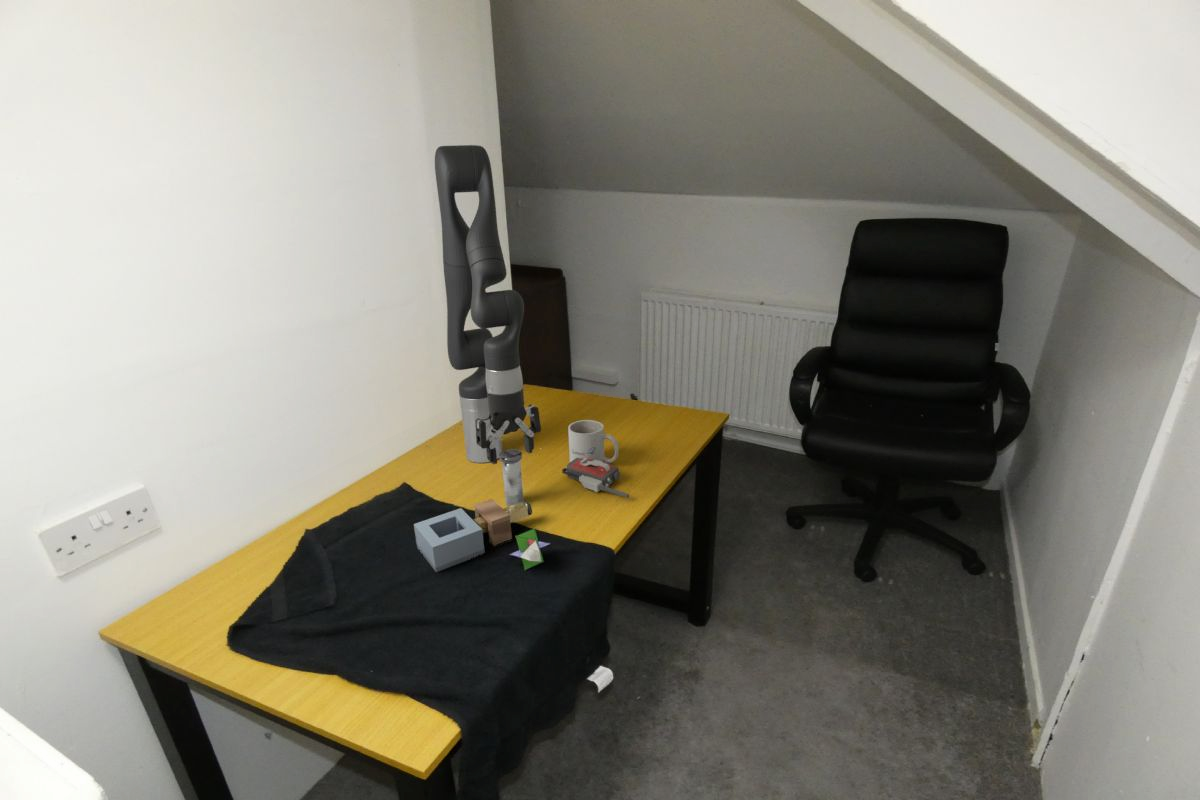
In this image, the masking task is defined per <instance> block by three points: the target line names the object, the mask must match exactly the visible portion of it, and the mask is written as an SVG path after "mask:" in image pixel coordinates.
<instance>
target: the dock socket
mask: <svg viewBox="0 0 1200 800" xmlns="http://www.w3.org/2000/svg"><path fill="white" fill-rule="evenodd" d="M413 528H414V529H413V530H414V534H415V535H414V536H415V543H416V547H417V550H418V551H419V550H420V551H419V553H421V555H422V554H423V555H422V556H423V558H424V559H425V560H426V561H427V562H428V564H429V565H430V566H431V568H432V569H433V570H434V571H435V572H436V573H438V572H441V571H443V570H445V569H448V568H451V567H454V566H456V565H459V564H462V563H464V562H466V561H469V560H472V559H474V558H477V557H479V556H478V555H480V556H482V555H484V554H483V553H485V554H486V551H485V545H484V533H482V529H481V528H480V527H479V526H478V525H477V524H476V523H475V522H474V519H472V517H470V516H469V515H468V514H467V513H466V511H464V509H463V508H462V507H461V508H457V509H454V510H451V511H448V512H445V513H442V514H440V515H436V516H434V517H430V518H428V519H425V520H421V521H419V522H416V523H414V524H413ZM481 554H482V555H481ZM476 556H477V557H476ZM473 557H474V558H473ZM471 558H472V559H471Z"/></svg>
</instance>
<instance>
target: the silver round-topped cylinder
mask: <svg viewBox="0 0 1200 800" xmlns="http://www.w3.org/2000/svg"><path fill="white" fill-rule="evenodd" d="M499 456H500V458H499V460H500V462H501V467H502V475H503V476H502V478H503V488H504V489H503V490H504V497H505V505H506V506H507V507H509V506H512V505H515V504H518V503H521V502H525V499H524V488H523V487H524V486H523V476H522V475H523V474H522V464H521V460H522V458H523V455H522V451H521V450H520V449H517V448H510V449H505V450H502V452H501V453H500V454H499Z"/></svg>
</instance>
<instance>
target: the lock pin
mask: <svg viewBox="0 0 1200 800" xmlns="http://www.w3.org/2000/svg"><path fill="white" fill-rule="evenodd" d="M503 509H504V510H505V511H506V512H507V513H508V514H509V515H510V523H511V524H512V523H516V522H517V521H520V520H523V519H526V518H529V516H532V514H533V508H532V505H531V504H530V502H529V501H528V500H527V501H524V502H521V503H518V504H515V505H512V506H507V507H504V508H503ZM473 521H474V522H475V523H476V524H477V525H478V526H479V527H480V528H481V529H482V533H483V534H486V533H489V531H488V522H487V521H486V520H485V519H484V518H483V517H482V516H481V517H478V518H476V517H475V518H473Z"/></svg>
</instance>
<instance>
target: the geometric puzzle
mask: <svg viewBox="0 0 1200 800" xmlns="http://www.w3.org/2000/svg"><path fill="white" fill-rule="evenodd" d="M515 539H516V540H515V541H516V542H515V543H514V544H513V546H512V548H511V551H513V549H514V548H515V546H516V545H517V547H518V549H517V550H516V551H514V552H511V553H509V556H512V559H513V560H515V558H514V557H517V558H519V560H520V562H521V563H522V565H520V564H519V562H517V561H516V560H515V562H516V563H518V565H520V566H521V568H523V570H524V571H526V570H529V569H532V568H533V567H535V566H537V565H540V564H541V563H544V562H545V559H544V556H543V551H542V548H544V547H546V546H548V545H551V543H550V542H546V541H541V540H540V538H539V536H538V532H537V529H536V527H533V528H532V529H530V530H527V531H525V532H522V533H520V534H518V535H515ZM548 550H549V549H546V552H545V555H547V552H548ZM513 556H514V557H513Z"/></svg>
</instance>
